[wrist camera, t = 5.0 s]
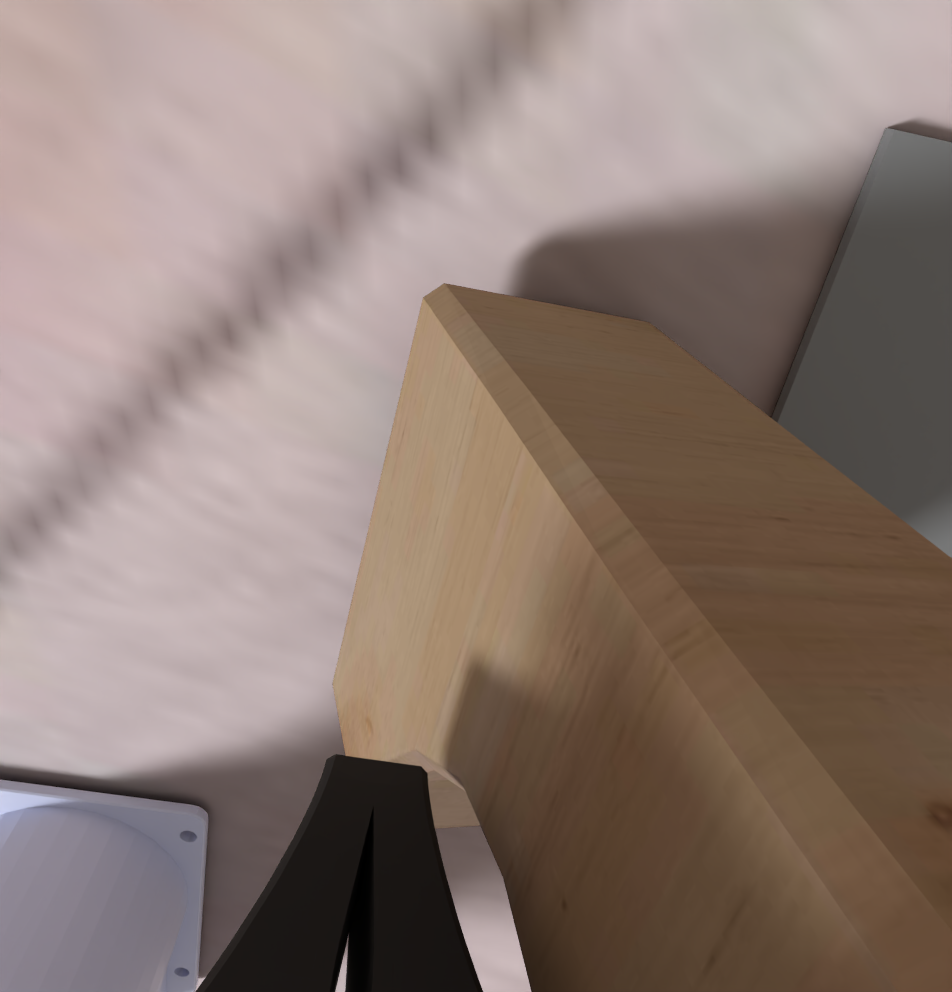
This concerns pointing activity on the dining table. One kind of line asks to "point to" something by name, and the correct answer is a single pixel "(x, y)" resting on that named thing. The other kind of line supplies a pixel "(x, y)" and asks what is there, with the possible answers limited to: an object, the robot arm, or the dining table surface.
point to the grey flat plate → (886, 341)
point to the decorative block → (655, 664)
